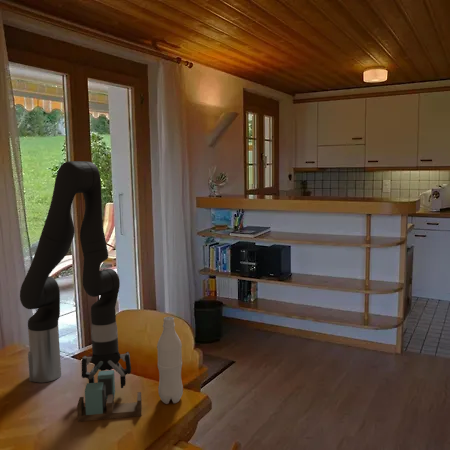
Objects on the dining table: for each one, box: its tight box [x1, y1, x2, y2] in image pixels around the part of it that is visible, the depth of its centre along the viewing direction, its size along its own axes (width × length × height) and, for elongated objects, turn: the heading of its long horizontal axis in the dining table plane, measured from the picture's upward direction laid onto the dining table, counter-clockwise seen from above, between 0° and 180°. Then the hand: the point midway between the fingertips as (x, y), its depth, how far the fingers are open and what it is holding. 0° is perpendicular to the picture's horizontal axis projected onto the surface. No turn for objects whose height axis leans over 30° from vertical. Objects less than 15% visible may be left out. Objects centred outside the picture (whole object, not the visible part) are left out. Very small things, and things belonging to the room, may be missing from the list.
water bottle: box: [156, 316, 184, 405], centre depth 138 cm, size 7×7×25 cm
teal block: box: [97, 369, 116, 401], centre depth 142 cm, size 5×4×7 cm
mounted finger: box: [84, 381, 107, 415], centre depth 131 cm, size 5×4×7 cm
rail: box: [76, 391, 143, 422], centre depth 132 cm, size 17×5×4 cm, turn 99°
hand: (107, 388), depth 142 cm, fingers open, 8 cm apart
